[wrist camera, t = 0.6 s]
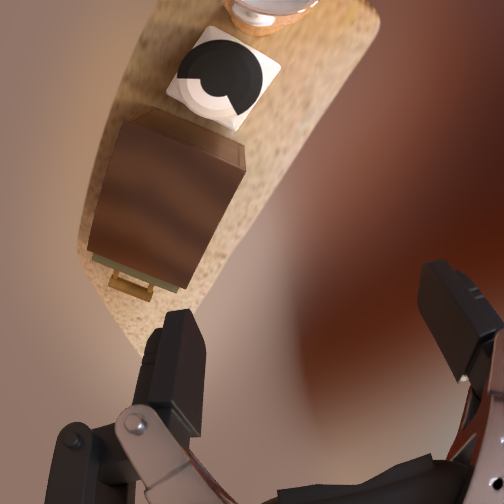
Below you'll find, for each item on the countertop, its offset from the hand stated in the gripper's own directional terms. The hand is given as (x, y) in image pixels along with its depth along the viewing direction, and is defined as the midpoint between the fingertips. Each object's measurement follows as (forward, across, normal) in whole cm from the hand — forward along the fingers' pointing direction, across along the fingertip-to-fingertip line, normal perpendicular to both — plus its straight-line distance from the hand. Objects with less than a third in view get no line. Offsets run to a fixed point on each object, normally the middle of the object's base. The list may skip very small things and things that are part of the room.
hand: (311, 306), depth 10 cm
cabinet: (+27, +11, +3) cm, 29 cm away
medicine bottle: (+27, +2, -7) cm, 28 cm away
